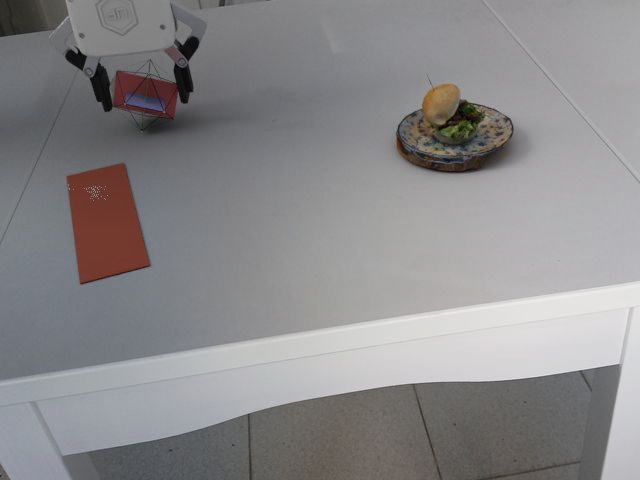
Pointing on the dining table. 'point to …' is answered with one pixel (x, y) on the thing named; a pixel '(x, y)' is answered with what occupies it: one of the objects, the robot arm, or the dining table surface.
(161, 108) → the geometric puzzle
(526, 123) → the dining table surface
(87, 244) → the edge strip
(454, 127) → the burger
